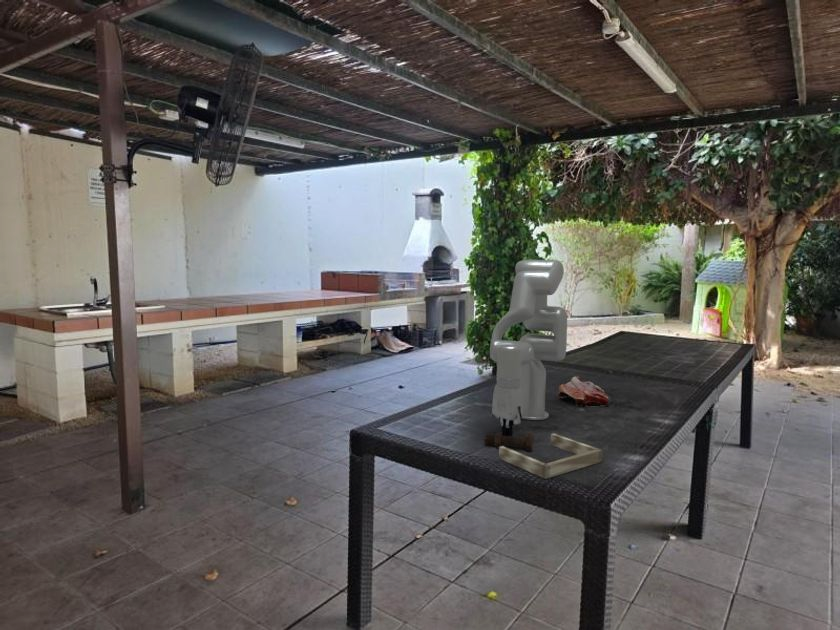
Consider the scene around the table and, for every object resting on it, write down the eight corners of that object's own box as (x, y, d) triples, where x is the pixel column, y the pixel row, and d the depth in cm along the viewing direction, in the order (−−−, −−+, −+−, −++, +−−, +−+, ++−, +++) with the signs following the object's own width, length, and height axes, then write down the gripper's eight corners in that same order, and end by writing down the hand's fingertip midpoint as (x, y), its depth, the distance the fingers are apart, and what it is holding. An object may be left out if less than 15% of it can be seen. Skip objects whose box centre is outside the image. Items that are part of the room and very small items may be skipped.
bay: (498, 458, 160) (499, 446, 160) (553, 444, 174) (554, 433, 173) (545, 479, 145) (546, 466, 145) (601, 461, 158) (602, 450, 158)
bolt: (485, 449, 173) (532, 453, 169) (482, 446, 169) (531, 450, 164) (486, 431, 175) (533, 435, 171) (484, 428, 171) (531, 431, 167)
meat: (619, 402, 230) (620, 379, 229) (597, 411, 214) (598, 386, 213) (574, 393, 244) (575, 372, 243) (550, 402, 228) (551, 378, 228)
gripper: (484, 379, 177) (483, 434, 178) (516, 388, 164) (514, 446, 166) (501, 377, 181) (500, 430, 183) (533, 386, 169) (532, 442, 170)
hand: (507, 438), depth 174 cm, fingers closed
